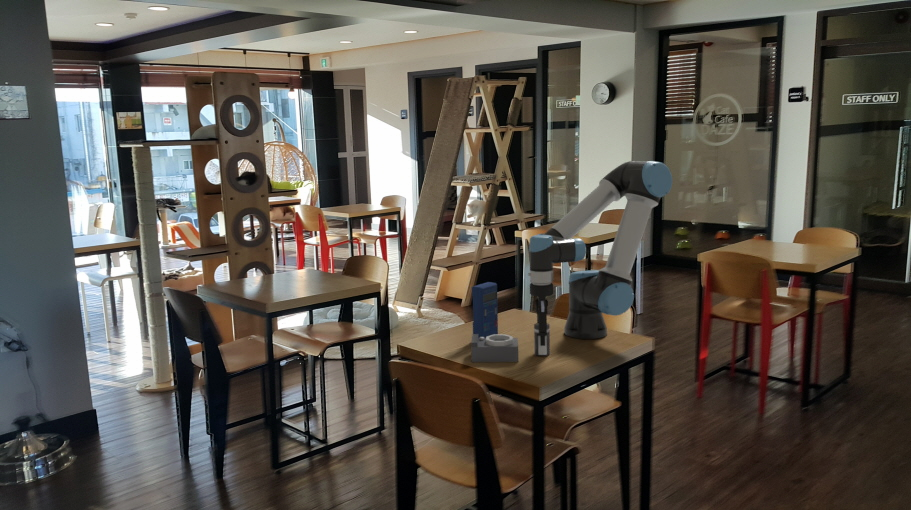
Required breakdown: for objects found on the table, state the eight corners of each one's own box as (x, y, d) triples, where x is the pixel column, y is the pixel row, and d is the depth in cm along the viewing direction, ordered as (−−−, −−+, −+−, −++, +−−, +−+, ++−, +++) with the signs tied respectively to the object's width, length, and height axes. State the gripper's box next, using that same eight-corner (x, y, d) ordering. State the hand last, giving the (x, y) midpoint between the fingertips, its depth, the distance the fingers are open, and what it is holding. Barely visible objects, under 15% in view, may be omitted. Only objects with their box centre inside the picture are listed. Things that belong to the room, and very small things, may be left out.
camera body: (517, 352, 236) (517, 333, 235) (518, 361, 226) (518, 342, 225) (472, 352, 237) (472, 334, 236) (471, 362, 227) (471, 342, 226)
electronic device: (483, 343, 247) (482, 287, 244) (472, 341, 251) (470, 286, 247) (499, 337, 255) (498, 283, 251) (488, 335, 258) (486, 281, 255)
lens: (549, 351, 236) (549, 322, 234) (550, 356, 231) (550, 326, 229) (534, 351, 236) (533, 322, 235) (534, 356, 231) (534, 326, 229)
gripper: (528, 277, 239) (529, 344, 243) (531, 288, 221) (531, 360, 225) (551, 277, 238) (551, 343, 242) (555, 288, 220) (555, 360, 224)
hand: (542, 351), depth 233 cm, fingers closed on lens, 5 cm apart
